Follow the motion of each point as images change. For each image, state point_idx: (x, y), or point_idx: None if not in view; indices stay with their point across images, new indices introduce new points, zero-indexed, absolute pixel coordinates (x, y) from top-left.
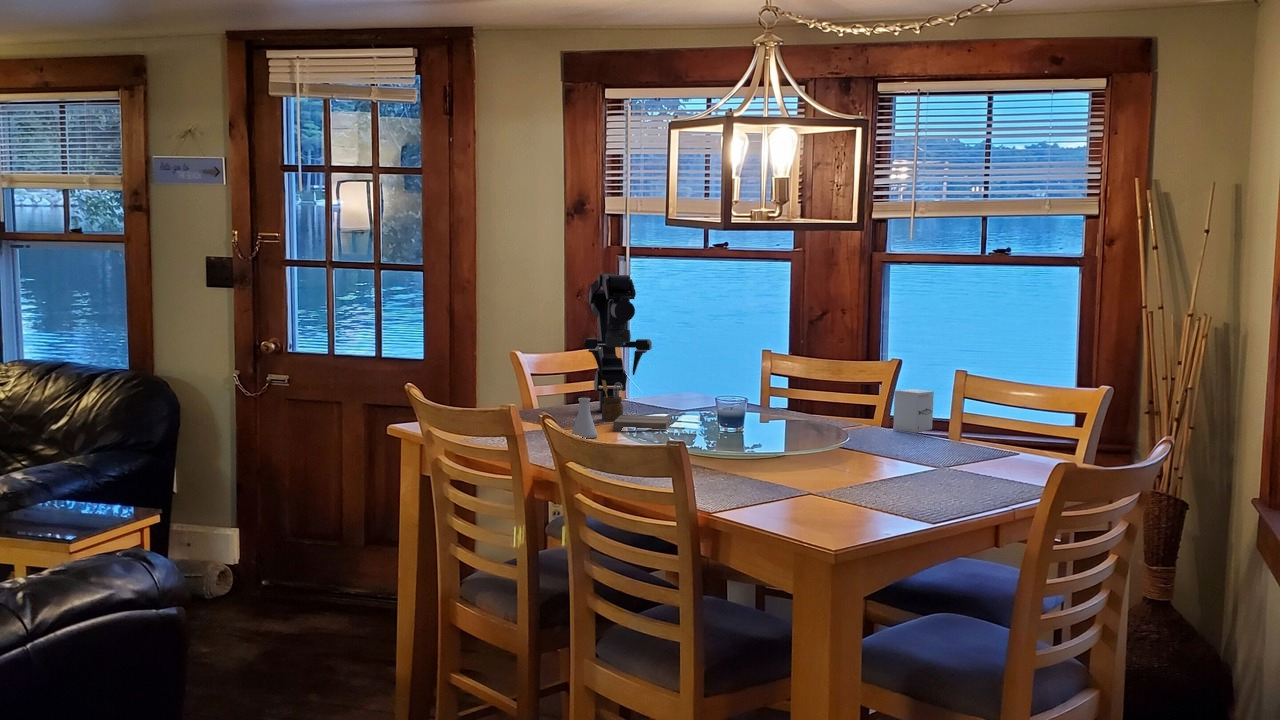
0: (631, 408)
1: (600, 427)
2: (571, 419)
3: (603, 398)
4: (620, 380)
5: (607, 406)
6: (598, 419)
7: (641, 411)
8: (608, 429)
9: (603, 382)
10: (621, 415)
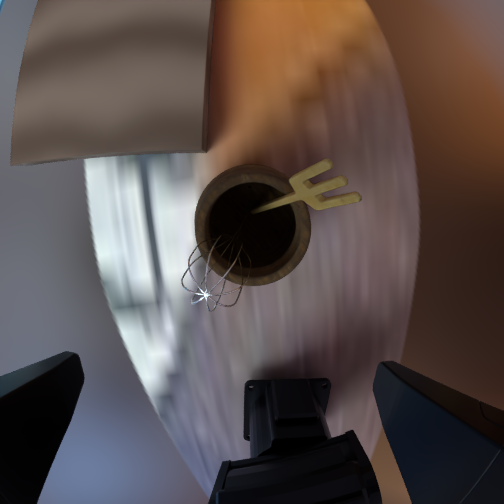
0: None
1: (279, 48)
2: (413, 254)
3: (310, 222)
4: (236, 476)
5: (274, 169)
6: (315, 273)
7: (188, 459)
8: (240, 10)
9: (333, 449)
10: (195, 132)
